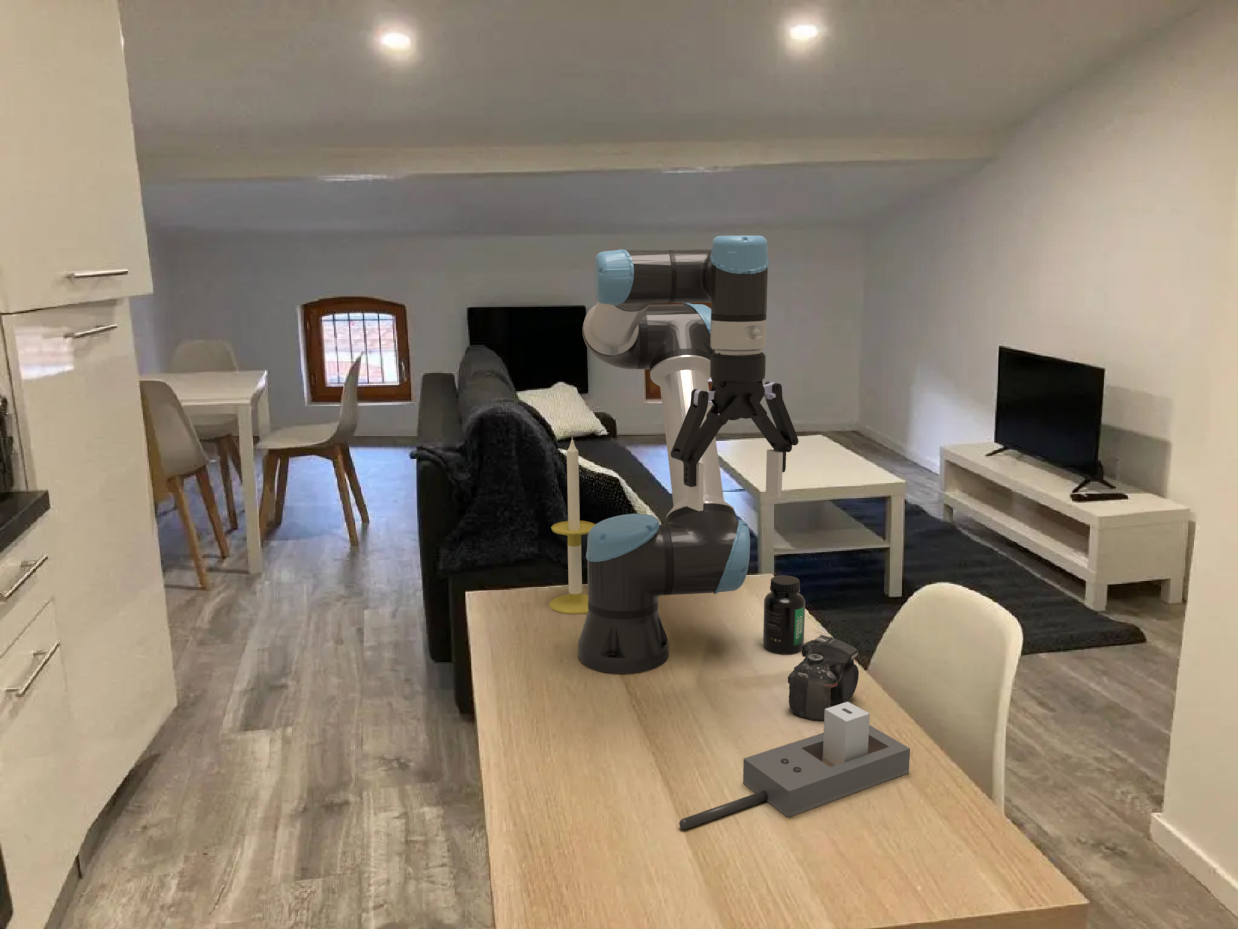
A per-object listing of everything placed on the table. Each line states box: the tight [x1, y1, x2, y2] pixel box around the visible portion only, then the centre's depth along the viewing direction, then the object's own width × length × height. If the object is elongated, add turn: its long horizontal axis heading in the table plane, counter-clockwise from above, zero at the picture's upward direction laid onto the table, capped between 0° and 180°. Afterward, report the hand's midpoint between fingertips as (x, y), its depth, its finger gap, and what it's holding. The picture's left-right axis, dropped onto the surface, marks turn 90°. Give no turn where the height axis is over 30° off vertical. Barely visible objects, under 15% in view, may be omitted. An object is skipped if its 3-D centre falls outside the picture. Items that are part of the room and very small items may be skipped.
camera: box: [787, 633, 860, 722], centre depth 150 cm, size 13×10×10 cm
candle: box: [549, 437, 596, 615], centre depth 188 cm, size 10×10×32 cm
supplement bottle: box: [762, 574, 806, 655], centre depth 170 cm, size 7×7×12 cm
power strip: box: [678, 724, 911, 830], centre depth 127 cm, size 33×9×4 cm, turn 120°
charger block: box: [822, 701, 871, 767], centre depth 131 cm, size 4×4×8 cm
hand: (735, 502), depth 142 cm, fingers open, 13 cm apart
